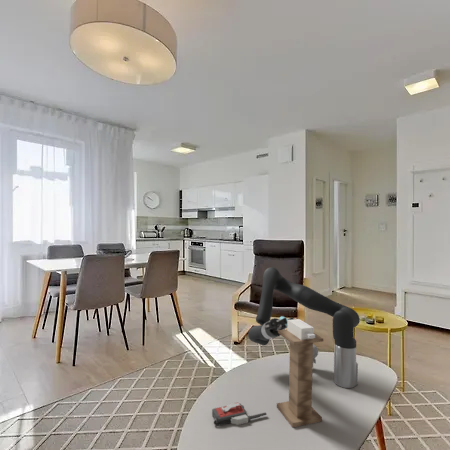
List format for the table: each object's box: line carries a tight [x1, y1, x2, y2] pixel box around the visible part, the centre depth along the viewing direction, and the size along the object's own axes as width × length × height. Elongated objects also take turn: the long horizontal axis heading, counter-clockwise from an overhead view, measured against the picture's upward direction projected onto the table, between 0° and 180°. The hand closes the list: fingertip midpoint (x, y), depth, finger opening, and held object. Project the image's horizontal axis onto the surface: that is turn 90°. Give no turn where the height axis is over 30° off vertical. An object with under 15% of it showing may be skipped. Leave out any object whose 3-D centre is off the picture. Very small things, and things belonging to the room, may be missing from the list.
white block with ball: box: [278, 315, 315, 340], centre depth 116 cm, size 5×23×4 cm, turn 17°
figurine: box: [312, 344, 319, 369], centre depth 149 cm, size 8×8×12 cm
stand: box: [276, 328, 324, 428], centre depth 113 cm, size 12×12×30 cm
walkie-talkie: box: [211, 402, 267, 426], centre depth 111 cm, size 9×4×20 cm
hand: (289, 320), depth 121 cm, fingers closed on white block with ball, 2 cm apart
